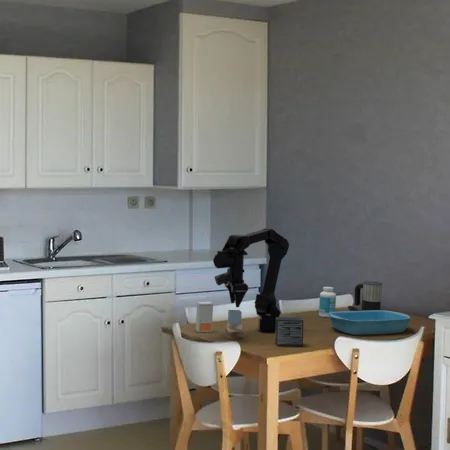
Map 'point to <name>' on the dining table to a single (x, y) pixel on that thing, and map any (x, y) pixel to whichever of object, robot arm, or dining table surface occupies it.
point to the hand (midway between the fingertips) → (234, 305)
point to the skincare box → (204, 317)
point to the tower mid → (234, 327)
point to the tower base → (233, 335)
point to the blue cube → (234, 316)
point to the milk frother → (368, 296)
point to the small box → (289, 331)
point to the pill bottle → (327, 302)
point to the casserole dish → (369, 322)
